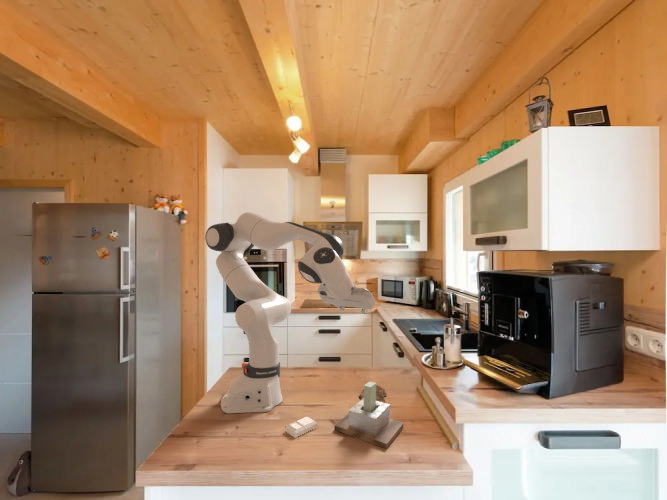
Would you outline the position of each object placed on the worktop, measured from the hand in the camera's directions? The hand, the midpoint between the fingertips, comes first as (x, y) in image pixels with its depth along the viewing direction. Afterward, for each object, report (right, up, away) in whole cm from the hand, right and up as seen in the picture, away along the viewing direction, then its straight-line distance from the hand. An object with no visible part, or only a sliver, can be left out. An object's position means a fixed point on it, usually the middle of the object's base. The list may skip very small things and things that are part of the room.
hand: (353, 310), depth 124 cm
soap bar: (-18, -36, -16) cm, 43 cm away
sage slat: (+4, -33, -15) cm, 37 cm away
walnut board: (+4, -36, -15) cm, 39 cm away
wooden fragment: (+8, -36, +10) cm, 38 cm away
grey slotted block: (+4, -34, -15) cm, 38 cm away
